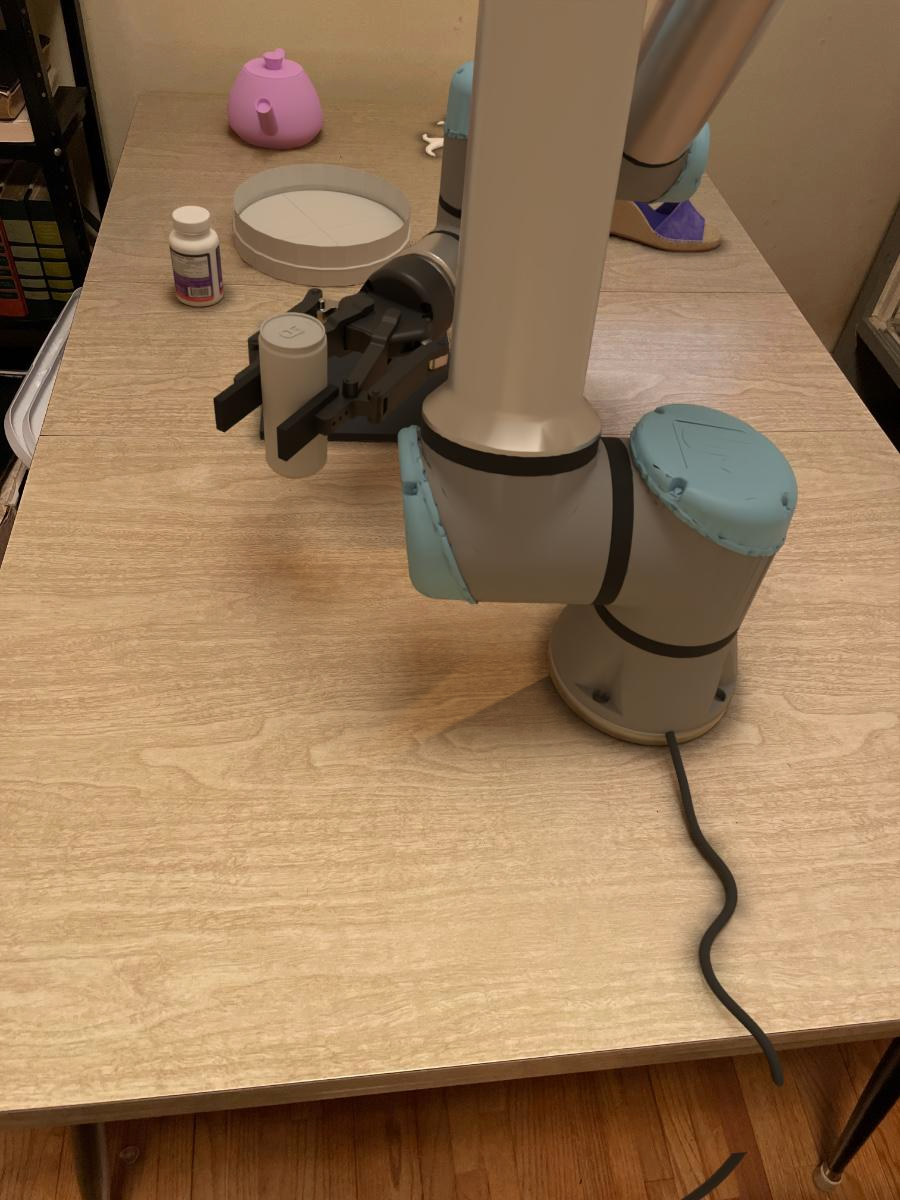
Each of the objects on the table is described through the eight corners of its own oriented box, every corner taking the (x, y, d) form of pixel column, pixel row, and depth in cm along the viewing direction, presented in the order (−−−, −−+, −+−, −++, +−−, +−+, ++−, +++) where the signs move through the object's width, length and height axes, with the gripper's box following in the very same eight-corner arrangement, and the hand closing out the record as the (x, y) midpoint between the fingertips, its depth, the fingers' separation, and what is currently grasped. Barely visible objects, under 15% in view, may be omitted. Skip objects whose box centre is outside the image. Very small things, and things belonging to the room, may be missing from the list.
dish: (443, 263, 121) (447, 225, 117) (285, 303, 111) (284, 263, 108) (353, 188, 132) (354, 151, 129) (203, 219, 123) (200, 180, 119)
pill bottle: (197, 278, 113) (188, 197, 106) (233, 293, 112) (227, 212, 105) (165, 297, 110) (154, 215, 103) (203, 313, 108) (194, 231, 101)
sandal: (719, 262, 128) (755, 147, 117) (572, 234, 129) (595, 119, 118) (719, 234, 134) (755, 122, 122) (579, 208, 135) (601, 95, 124)
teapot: (216, 159, 134) (210, 77, 127) (238, 103, 148) (233, 26, 140) (316, 168, 135) (315, 88, 127) (328, 112, 149) (328, 36, 141)
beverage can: (339, 464, 77) (341, 332, 68) (293, 491, 74) (288, 357, 65) (299, 436, 78) (296, 303, 70) (253, 460, 76) (243, 326, 67)
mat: (461, 443, 97) (462, 435, 96) (260, 439, 95) (259, 431, 94) (445, 332, 110) (446, 325, 110) (268, 326, 108) (267, 318, 107)
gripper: (505, 369, 83) (353, 519, 68) (333, 300, 88) (158, 426, 73) (517, 290, 77) (356, 435, 63) (334, 221, 82) (145, 340, 68)
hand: (250, 429), depth 68 cm, fingers closed on beverage can, 5 cm apart
